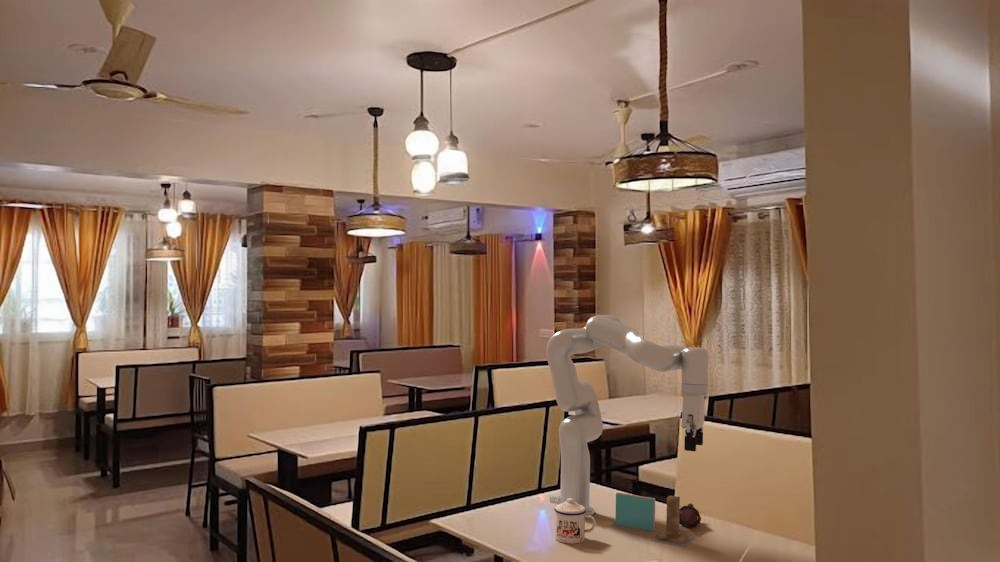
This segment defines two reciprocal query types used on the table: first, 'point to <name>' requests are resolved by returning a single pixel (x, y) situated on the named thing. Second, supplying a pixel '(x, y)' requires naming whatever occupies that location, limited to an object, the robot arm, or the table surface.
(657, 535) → the mat
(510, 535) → the table surface
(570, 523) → the teacup with lid
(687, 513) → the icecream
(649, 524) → the tile
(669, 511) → the wooden post with base
